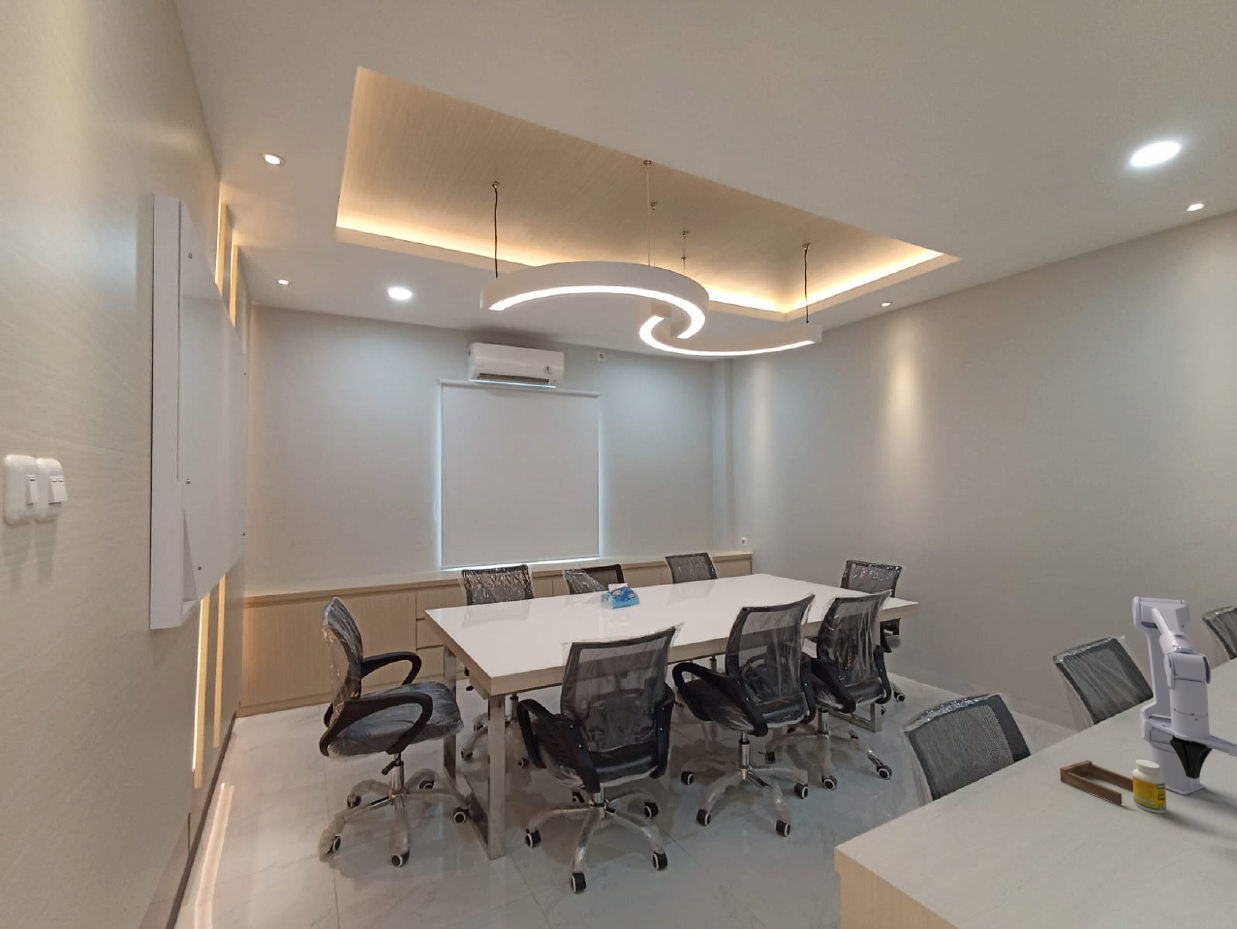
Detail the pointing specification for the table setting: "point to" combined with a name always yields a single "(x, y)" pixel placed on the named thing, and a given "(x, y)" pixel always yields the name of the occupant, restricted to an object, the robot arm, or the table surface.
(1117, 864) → the table surface
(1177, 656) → the robot arm
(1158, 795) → the supplement bottle
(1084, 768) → the walnut slot rack
